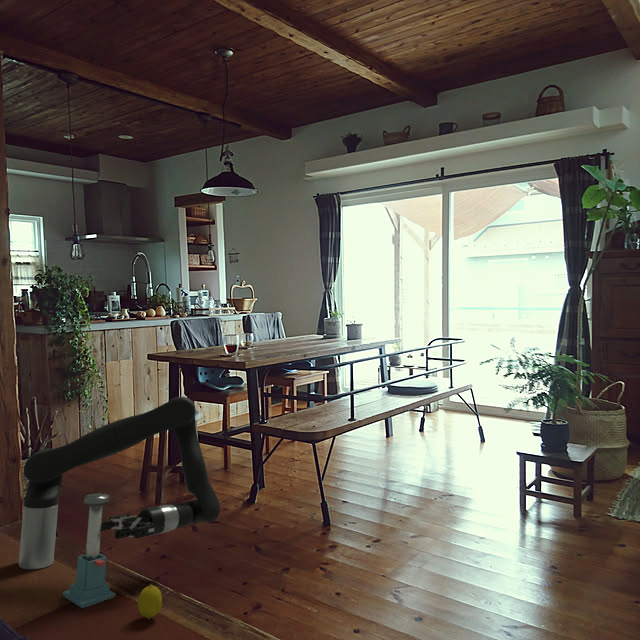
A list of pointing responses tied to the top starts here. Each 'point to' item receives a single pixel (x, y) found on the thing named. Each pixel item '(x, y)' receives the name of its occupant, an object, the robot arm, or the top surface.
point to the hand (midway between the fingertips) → (106, 530)
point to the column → (94, 524)
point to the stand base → (89, 583)
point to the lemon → (149, 601)
